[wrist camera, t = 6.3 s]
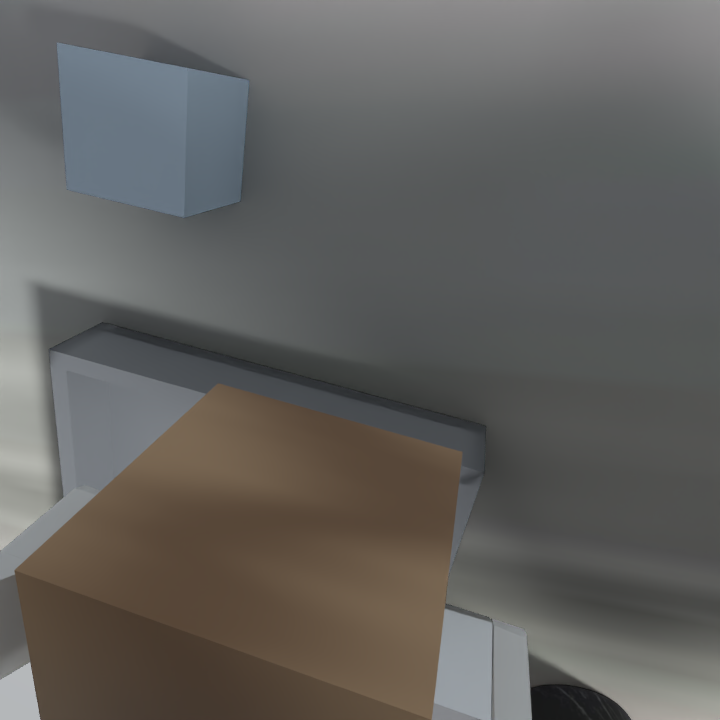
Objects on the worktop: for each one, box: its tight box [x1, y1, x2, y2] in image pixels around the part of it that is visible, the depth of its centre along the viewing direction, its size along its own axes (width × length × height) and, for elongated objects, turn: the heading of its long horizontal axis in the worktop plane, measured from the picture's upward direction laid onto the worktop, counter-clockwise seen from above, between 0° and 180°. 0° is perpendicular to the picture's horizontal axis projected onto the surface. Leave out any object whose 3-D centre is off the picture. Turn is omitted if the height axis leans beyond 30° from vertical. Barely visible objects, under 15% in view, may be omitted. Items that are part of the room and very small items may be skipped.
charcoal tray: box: [49, 322, 486, 577], centre depth 26 cm, size 19×15×4 cm
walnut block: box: [14, 383, 463, 720], centre depth 8 cm, size 4×4×4 cm
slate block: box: [57, 43, 249, 218], centre depth 19 cm, size 4×4×4 cm
